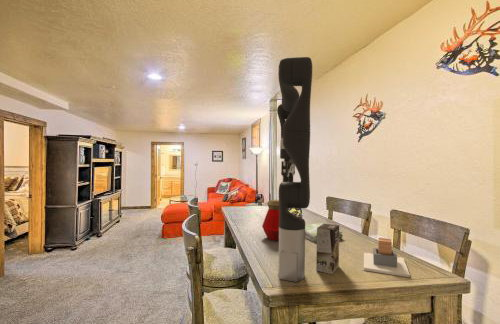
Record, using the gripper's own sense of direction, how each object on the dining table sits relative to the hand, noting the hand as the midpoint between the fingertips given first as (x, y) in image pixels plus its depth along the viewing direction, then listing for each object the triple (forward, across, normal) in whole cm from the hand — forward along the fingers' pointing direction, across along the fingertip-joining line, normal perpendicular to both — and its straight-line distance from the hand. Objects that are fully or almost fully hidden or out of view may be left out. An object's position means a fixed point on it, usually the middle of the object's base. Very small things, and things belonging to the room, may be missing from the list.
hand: (288, 184), depth 121 cm
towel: (+31, +32, -8) cm, 45 cm away
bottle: (+30, +17, +11) cm, 36 cm away
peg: (+29, +1, -39) cm, 49 cm away
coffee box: (+30, -12, -19) cm, 38 cm away
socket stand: (+30, +1, -39) cm, 49 cm away
